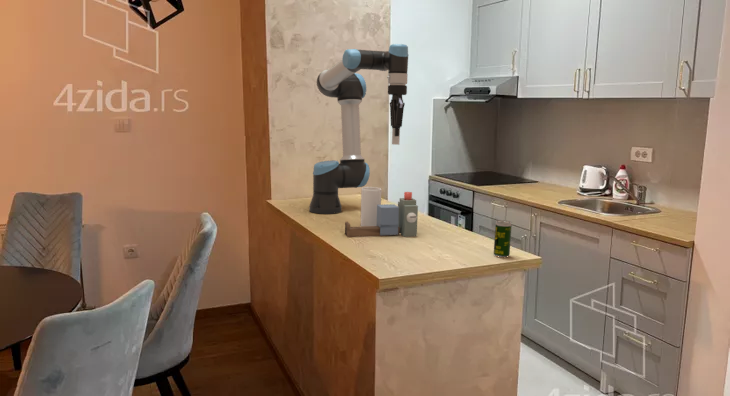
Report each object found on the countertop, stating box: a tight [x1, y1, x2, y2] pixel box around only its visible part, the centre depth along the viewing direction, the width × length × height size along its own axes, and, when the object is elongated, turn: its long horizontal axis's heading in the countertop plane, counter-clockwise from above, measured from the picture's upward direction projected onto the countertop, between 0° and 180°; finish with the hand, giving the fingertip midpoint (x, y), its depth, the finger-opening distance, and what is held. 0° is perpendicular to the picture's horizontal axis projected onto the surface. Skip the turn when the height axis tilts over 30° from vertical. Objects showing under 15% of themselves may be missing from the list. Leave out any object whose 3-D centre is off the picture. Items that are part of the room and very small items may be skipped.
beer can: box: [493, 219, 512, 258], centre depth 190 cm, size 5×5×12 cm
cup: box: [360, 186, 382, 226], centre depth 231 cm, size 8×8×16 cm
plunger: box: [403, 191, 413, 200], centre depth 218 cm, size 3×3×4 cm
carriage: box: [377, 203, 399, 236], centre depth 218 cm, size 6×7×11 cm
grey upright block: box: [397, 197, 419, 238], centre depth 219 cm, size 11×5×14 cm, turn 13°
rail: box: [344, 221, 401, 238], centre depth 217 cm, size 5×21×5 cm, turn 103°
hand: (395, 144), depth 225 cm, fingers closed
